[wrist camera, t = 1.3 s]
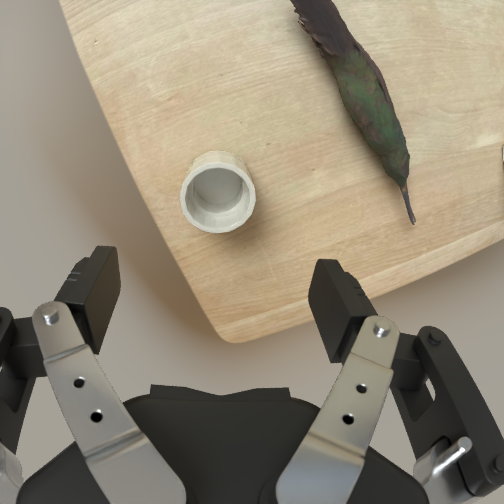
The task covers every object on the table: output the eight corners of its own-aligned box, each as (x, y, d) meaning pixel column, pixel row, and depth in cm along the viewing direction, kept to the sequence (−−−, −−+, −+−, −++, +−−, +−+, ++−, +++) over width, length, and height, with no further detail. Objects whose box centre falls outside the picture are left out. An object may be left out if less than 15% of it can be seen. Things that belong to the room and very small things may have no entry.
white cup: (173, 187, 29) (165, 207, 25) (211, 136, 27) (209, 147, 23) (224, 220, 32) (225, 245, 27) (262, 174, 29) (270, 192, 25)
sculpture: (307, -28, 19) (324, -45, 15) (423, 206, 33) (447, 225, 29) (263, -10, 20) (272, -27, 16) (392, 226, 34) (413, 247, 30)
